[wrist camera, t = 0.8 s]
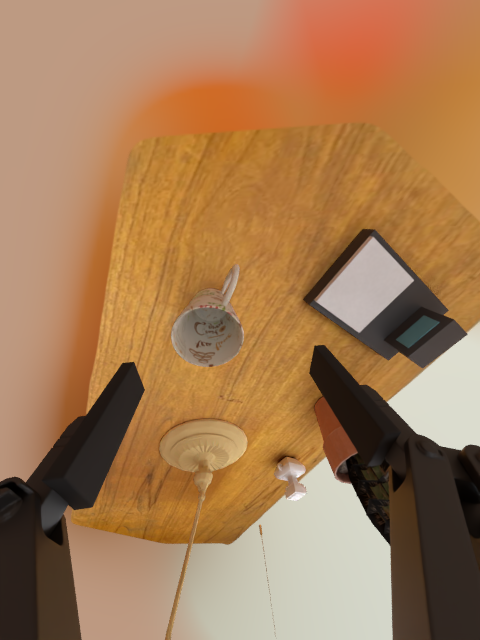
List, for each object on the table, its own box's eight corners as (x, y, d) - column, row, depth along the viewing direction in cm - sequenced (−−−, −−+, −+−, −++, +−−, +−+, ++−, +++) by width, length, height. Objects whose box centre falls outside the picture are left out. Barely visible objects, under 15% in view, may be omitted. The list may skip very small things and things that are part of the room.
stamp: (304, 457, 56) (317, 493, 49) (290, 468, 58) (301, 504, 51) (282, 451, 53) (292, 488, 46) (268, 463, 55) (276, 500, 48)
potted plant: (316, 428, 49) (394, 592, 27) (295, 401, 43) (376, 583, 21) (364, 406, 47) (492, 565, 25) (350, 374, 41) (502, 548, 19)
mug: (178, 318, 30) (162, 356, 22) (205, 244, 26) (198, 254, 17) (224, 333, 33) (226, 374, 24) (256, 268, 28) (274, 289, 19)
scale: (303, 299, 31) (325, 319, 25) (362, 229, 27) (408, 230, 20) (379, 353, 39) (411, 379, 33) (434, 305, 35) (484, 323, 28)
